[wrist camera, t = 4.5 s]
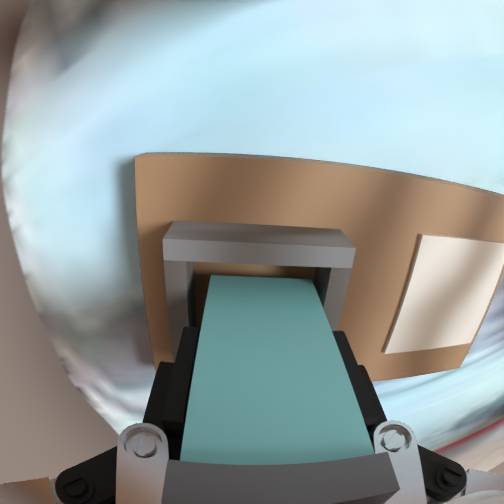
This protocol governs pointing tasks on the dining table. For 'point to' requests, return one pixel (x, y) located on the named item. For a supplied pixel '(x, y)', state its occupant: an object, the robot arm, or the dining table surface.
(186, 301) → the board
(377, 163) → the dining table surface
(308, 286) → the plug
